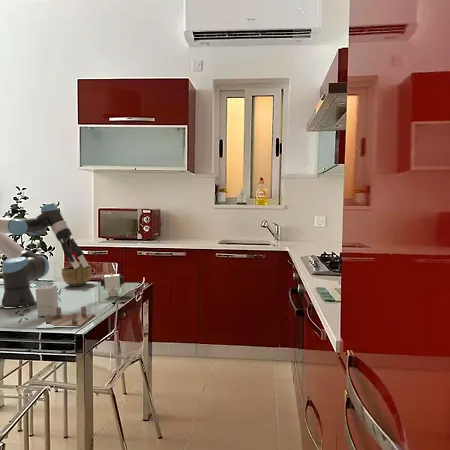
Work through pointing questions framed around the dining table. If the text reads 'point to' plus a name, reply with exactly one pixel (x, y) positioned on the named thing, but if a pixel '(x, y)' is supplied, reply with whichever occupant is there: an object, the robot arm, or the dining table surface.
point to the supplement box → (46, 300)
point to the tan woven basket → (76, 274)
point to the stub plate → (68, 318)
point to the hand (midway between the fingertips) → (81, 267)
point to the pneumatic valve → (112, 283)
